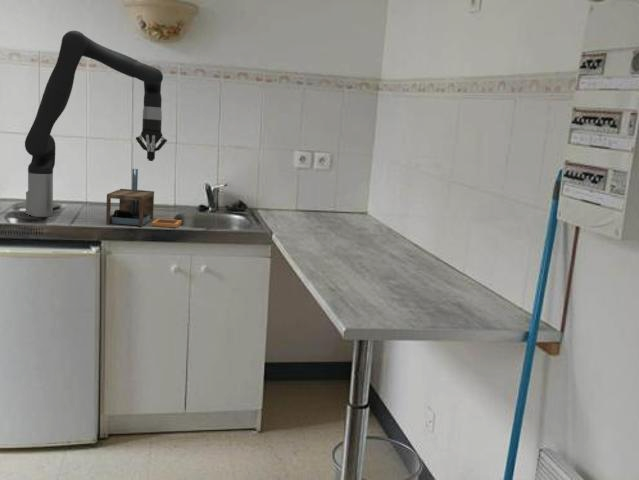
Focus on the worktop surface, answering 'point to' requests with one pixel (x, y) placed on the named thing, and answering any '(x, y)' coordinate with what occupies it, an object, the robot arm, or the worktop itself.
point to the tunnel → (126, 196)
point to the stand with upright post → (133, 207)
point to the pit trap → (166, 223)
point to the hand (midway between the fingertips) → (150, 160)
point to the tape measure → (122, 214)
